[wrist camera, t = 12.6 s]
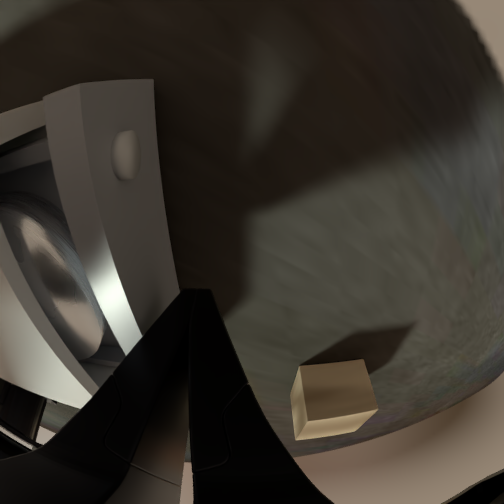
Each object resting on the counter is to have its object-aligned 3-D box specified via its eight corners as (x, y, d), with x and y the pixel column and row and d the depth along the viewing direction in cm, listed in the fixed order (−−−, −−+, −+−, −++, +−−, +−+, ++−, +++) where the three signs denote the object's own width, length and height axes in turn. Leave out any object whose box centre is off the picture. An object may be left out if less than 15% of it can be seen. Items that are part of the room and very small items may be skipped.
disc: (133, 340, 10) (124, 372, 9) (22, 319, 10) (10, 342, 9) (86, 181, 6) (55, 208, 5) (-33, 198, 6) (-56, 218, 5)
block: (345, 388, 17) (354, 431, 14) (290, 394, 17) (295, 440, 14) (363, 358, 14) (378, 409, 12) (299, 365, 14) (307, 421, 11)
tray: (198, 350, 13) (191, 421, 9) (33, 329, 12) (11, 377, 9) (162, 77, 6) (92, 79, 3) (-42, 150, 6) (-96, 188, 2)
